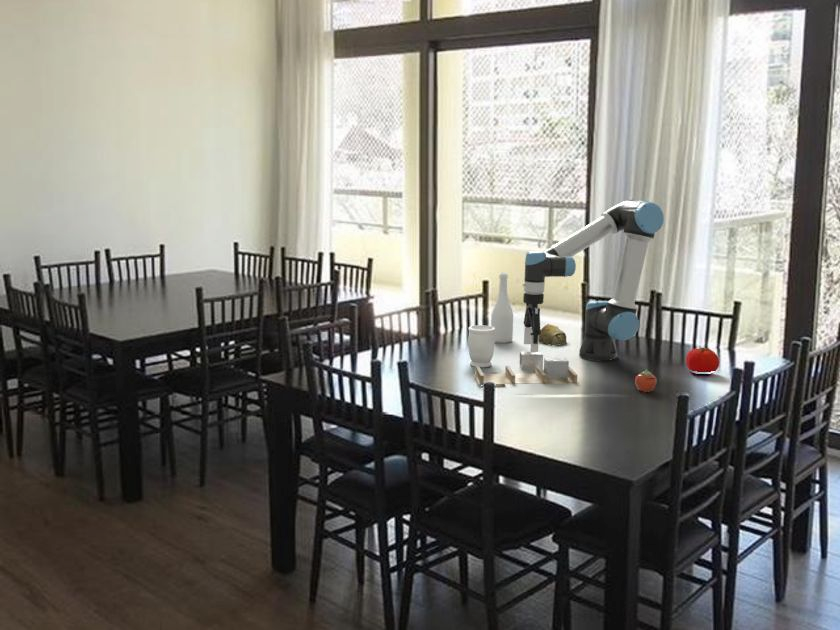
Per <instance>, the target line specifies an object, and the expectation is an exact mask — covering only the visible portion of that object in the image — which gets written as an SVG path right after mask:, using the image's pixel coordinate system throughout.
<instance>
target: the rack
mask: <svg viewBox="0 0 840 630" xmlns="http://www.w3.org/2000/svg"><path fill="white" fill-rule="evenodd" d="M474 368H475V373H473V378H474V380H475V382H476V384H477V386H478V387H479V386H481V385H483V384H484V383H485V382H489V381H490V382H494V383H495V384H496V387H506V385H533V384H534V385H536V384H539V385H544V384H546V385H549V384H557V385H558V384H559V385H560V384H561V385H563V384H567V385H568V384H579V382H578V374H577V373H576V372H575V371H574V369H572V368H571V367H570V366H569V368H568V380H546V374H545V373H544V369H543V370H542V369H541V368H540V367H539V366H535V370H534V373H526V372H525V373H515V372H513V370H512V369H511V367H510V366H509V365H505V372H504V373H483V372H482V369H481V367H479V366H476V367H474ZM496 387H495V388H496Z"/></svg>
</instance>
